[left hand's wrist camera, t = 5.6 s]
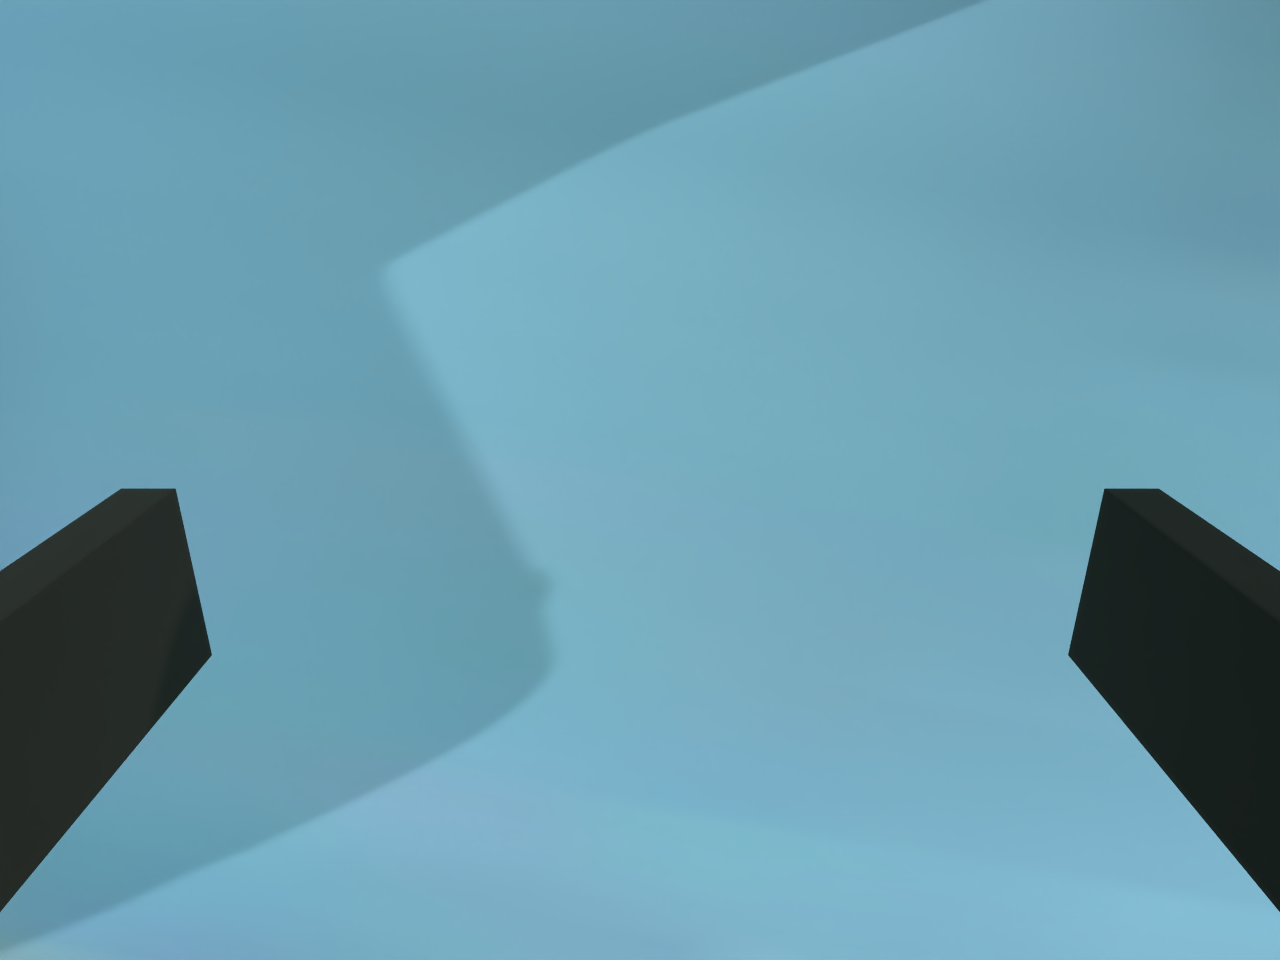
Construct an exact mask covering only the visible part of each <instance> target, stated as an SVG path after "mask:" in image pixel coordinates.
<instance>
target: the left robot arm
mask: <svg viewBox="0 0 1280 960" xmlns="http://www.w3.org/2000/svg"><path fill="white" fill-rule="evenodd" d="M211 655H212V654H211V649H210V644H209V640H208V635H207V631H206V626H205V622H204V617H203V612H202V608H201V603H200V599H199V594H198V589H197V585H196V580H195V576H194V571H193V567H192V562H191V557H190V553H189V548H188V544H187V539H186V535H185V530H184V525H183V521H182V516H181V512H180V507H179V502H178V498H177V493H176V489H120V490H119V491H117V492H116V493H114V494H113V495H111V496H110V497H108V498H107V499H105V500H104V501H103V502H101V503H100V504H98V505H97V506H95V507H94V508H92V509H91V510H89V511H88V512H86V513H85V514H83V515H82V516H81V517H79V518H78V519H76V520H75V521H73V522H72V523H70V524H69V525H67V526H66V527H64V528H63V529H61V530H60V531H59V532H57V533H56V534H54V535H53V536H51V537H50V538H48V539H47V540H45V541H44V542H42V543H41V544H39V545H38V546H37V547H35V548H34V549H32V550H31V551H29V552H28V553H26V554H25V555H23V556H22V557H20V558H19V559H17V560H16V561H15V562H13V563H12V564H10V565H9V566H7V567H6V568H4V569H3V570H1V571H0V911H1V910H2V909H3V908H4V907H5V905H6V904H7V903H8V902H9V901H10V899H11V898H12V897H13V896H14V894H15V893H16V892H17V891H18V890H19V888H20V887H21V886H22V885H23V884H24V882H25V881H26V880H27V879H28V877H29V876H30V875H31V874H32V873H33V871H34V870H35V869H36V868H37V867H38V865H39V864H40V863H41V862H42V861H43V859H44V858H45V857H46V856H47V854H48V853H49V852H50V851H51V850H52V848H53V847H54V846H55V845H56V844H57V842H58V841H59V840H60V839H61V837H62V836H63V835H64V834H65V833H66V831H67V830H68V829H69V828H70V827H71V825H72V824H73V823H74V822H75V820H76V819H77V818H78V817H79V816H80V814H81V813H82V812H83V811H84V810H85V808H86V807H87V806H88V805H89V803H90V802H91V801H92V800H93V799H94V797H95V796H96V795H97V794H98V793H99V791H100V790H101V789H102V788H103V786H104V785H105V784H106V783H107V782H108V780H109V779H110V778H111V777H112V776H113V774H114V773H115V772H116V771H117V769H118V768H119V767H120V766H121V765H122V763H123V762H124V761H125V760H126V759H127V757H128V756H129V755H130V754H131V752H132V751H133V750H134V749H135V748H136V746H137V745H138V744H139V743H140V742H141V740H142V739H143V738H144V737H145V735H146V734H147V733H148V732H149V731H150V729H151V728H152V727H153V726H154V725H155V723H156V722H157V721H158V720H159V718H160V717H161V716H162V715H163V714H164V712H165V711H166V710H167V709H168V708H169V706H170V705H171V704H172V703H173V701H174V700H175V699H176V698H177V697H178V695H179V694H180V693H181V692H182V691H183V689H184V688H185V687H186V686H187V684H188V683H189V682H190V681H191V680H192V678H193V677H194V676H195V675H196V674H197V672H198V671H199V670H200V669H201V667H202V666H203V665H204V664H205V663H206V661H207V660H208V659H209V658H210V657H211ZM1068 655H1069V657H1070V658H1071V659H1072V660H1073V661H1074V663H1075V664H1076V665H1077V666H1078V667H1079V669H1080V670H1081V671H1082V672H1083V674H1084V675H1085V676H1086V677H1087V678H1088V680H1089V681H1090V682H1091V683H1092V684H1093V686H1094V687H1095V688H1096V689H1097V691H1098V692H1099V693H1100V694H1101V695H1102V697H1103V698H1104V699H1105V700H1106V701H1107V703H1108V704H1109V705H1110V706H1111V708H1112V709H1113V710H1114V711H1115V712H1116V714H1117V715H1118V716H1119V717H1120V718H1121V720H1122V721H1123V722H1124V723H1125V725H1126V726H1127V727H1128V728H1129V729H1130V731H1131V732H1132V733H1133V734H1134V735H1135V737H1136V738H1137V739H1138V740H1139V742H1140V743H1141V744H1142V745H1143V746H1144V748H1145V749H1146V750H1147V751H1148V752H1149V754H1150V755H1151V756H1152V757H1153V759H1154V760H1155V761H1156V762H1157V763H1158V765H1159V766H1160V767H1161V768H1162V769H1163V771H1164V772H1165V773H1166V774H1167V776H1168V777H1169V778H1170V779H1171V780H1172V782H1173V783H1174V784H1175V785H1176V786H1177V788H1178V789H1179V790H1180V791H1181V793H1182V794H1183V795H1184V796H1185V797H1186V799H1187V800H1188V801H1189V802H1190V803H1191V805H1192V806H1193V807H1194V808H1195V810H1196V811H1197V812H1198V813H1199V814H1200V816H1201V817H1202V818H1203V819H1204V820H1205V822H1206V823H1207V824H1208V825H1209V827H1210V828H1211V829H1212V830H1213V831H1214V833H1215V834H1216V835H1217V836H1218V837H1219V839H1220V840H1221V841H1222V842H1223V844H1224V845H1225V846H1226V847H1227V848H1228V850H1229V851H1230V852H1231V853H1232V854H1233V856H1234V857H1235V858H1236V859H1237V861H1238V862H1239V863H1240V864H1241V865H1242V867H1243V868H1244V869H1245V870H1246V871H1247V873H1248V874H1249V875H1250V876H1251V877H1252V879H1253V880H1254V881H1255V882H1256V884H1257V885H1258V886H1259V887H1260V888H1261V890H1262V891H1263V892H1264V893H1265V894H1266V896H1267V897H1268V898H1269V899H1270V901H1271V902H1272V903H1273V904H1274V905H1275V907H1276V908H1277V909H1278V910H1279V911H1280V571H1279V570H1277V569H1276V568H1274V567H1273V566H1271V565H1270V564H1268V563H1267V562H1265V561H1264V560H1263V559H1261V558H1260V557H1258V556H1257V555H1255V554H1254V553H1252V552H1251V551H1249V550H1248V549H1246V548H1245V547H1243V546H1242V545H1241V544H1239V543H1238V542H1236V541H1235V540H1233V539H1232V538H1230V537H1229V536H1227V535H1226V534H1224V533H1223V532H1221V531H1220V530H1219V529H1217V528H1216V527H1214V526H1213V525H1211V524H1210V523H1208V522H1207V521H1205V520H1204V519H1202V518H1201V517H1199V516H1198V515H1197V514H1195V513H1194V512H1192V511H1191V510H1189V509H1188V508H1186V507H1185V506H1183V505H1182V504H1180V503H1179V502H1177V501H1176V500H1175V499H1173V498H1172V497H1170V496H1169V495H1167V494H1166V493H1164V492H1163V491H1161V490H1160V489H1104V493H1103V498H1102V502H1101V507H1100V512H1099V516H1098V521H1097V525H1096V530H1095V535H1094V539H1093V544H1092V548H1091V553H1090V557H1089V562H1088V567H1087V571H1086V576H1085V580H1084V585H1083V589H1082V594H1081V599H1080V603H1079V608H1078V612H1077V617H1076V622H1075V626H1074V631H1073V635H1072V640H1071V644H1070V649H1069V654H1068Z"/></svg>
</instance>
